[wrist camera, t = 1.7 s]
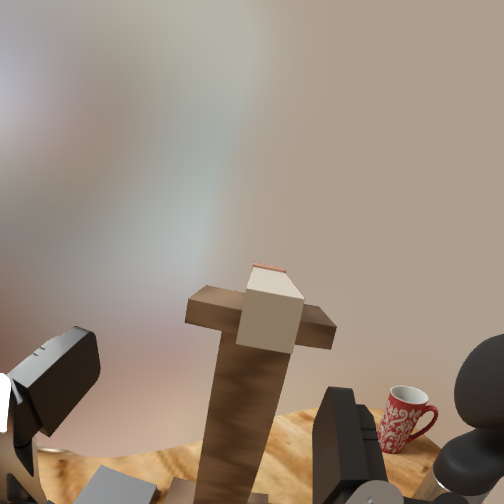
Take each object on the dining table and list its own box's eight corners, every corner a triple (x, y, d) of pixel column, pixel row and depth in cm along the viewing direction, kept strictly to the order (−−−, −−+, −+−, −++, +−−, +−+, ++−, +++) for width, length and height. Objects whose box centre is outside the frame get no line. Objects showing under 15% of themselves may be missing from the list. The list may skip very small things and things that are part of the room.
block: (277, 296, 33) (282, 267, 33) (293, 354, 15) (307, 295, 15) (248, 290, 33) (254, 262, 33) (233, 343, 15) (245, 284, 15)
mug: (364, 449, 49) (387, 396, 49) (374, 430, 56) (393, 381, 56) (417, 464, 42) (444, 411, 41) (421, 443, 49) (443, 394, 49)
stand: (265, 501, 33) (325, 306, 32) (265, 543, 24) (348, 328, 23) (173, 484, 33) (199, 282, 32) (158, 524, 24) (176, 296, 23)
